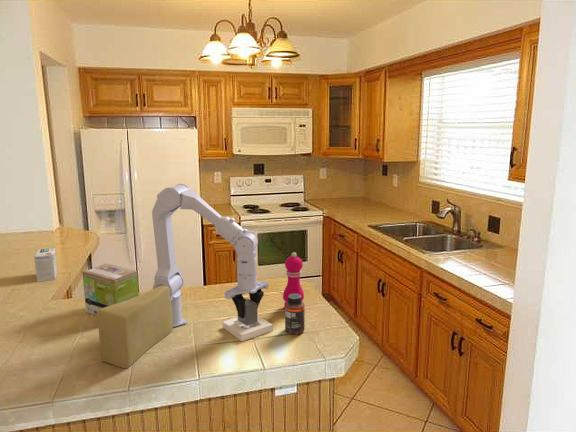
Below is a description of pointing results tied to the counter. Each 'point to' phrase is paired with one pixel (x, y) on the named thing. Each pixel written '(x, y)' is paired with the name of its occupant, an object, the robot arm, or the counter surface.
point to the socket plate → (247, 328)
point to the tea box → (108, 286)
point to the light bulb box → (45, 264)
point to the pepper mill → (293, 277)
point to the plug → (249, 313)
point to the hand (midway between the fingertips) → (247, 315)
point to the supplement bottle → (294, 314)
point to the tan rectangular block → (134, 326)
